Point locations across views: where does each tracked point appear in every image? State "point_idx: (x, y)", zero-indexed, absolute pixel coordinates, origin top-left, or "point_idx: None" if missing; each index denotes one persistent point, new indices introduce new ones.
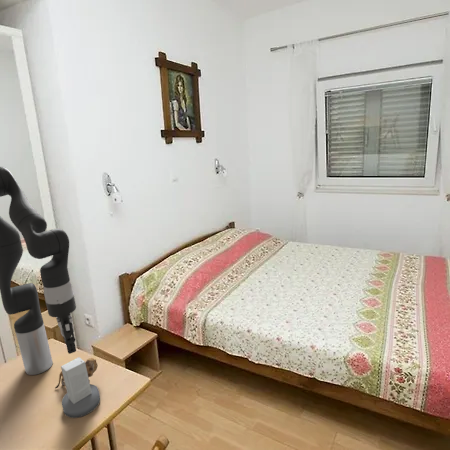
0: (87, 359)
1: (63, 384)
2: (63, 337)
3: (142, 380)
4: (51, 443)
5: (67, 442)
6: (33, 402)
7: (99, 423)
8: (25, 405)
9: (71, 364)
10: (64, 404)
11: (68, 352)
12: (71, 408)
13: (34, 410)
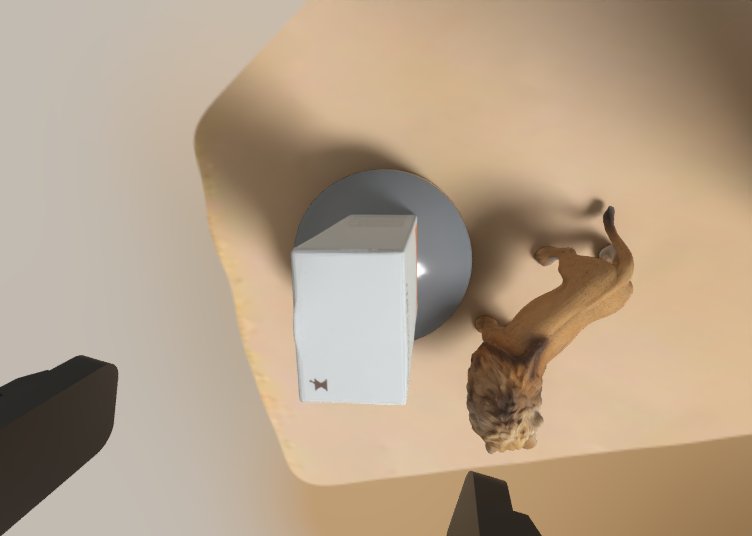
0: (538, 425)
1: (602, 250)
2: (477, 497)
3: (314, 483)
4: (265, 60)
5: (221, 114)
6: (614, 84)
7: (222, 249)
8: (630, 43)
9: (347, 320)
10: (389, 181)
11: (69, 363)
12: (333, 194)
13: (544, 68)
